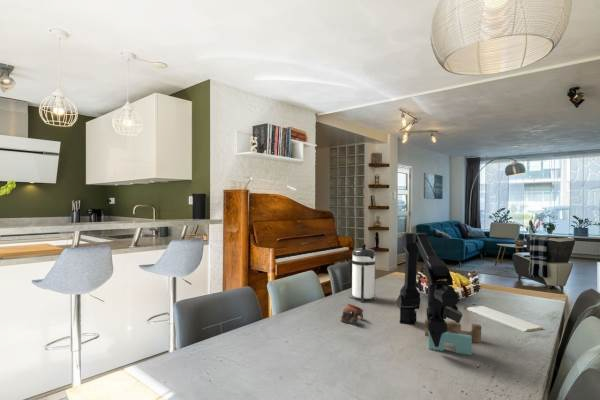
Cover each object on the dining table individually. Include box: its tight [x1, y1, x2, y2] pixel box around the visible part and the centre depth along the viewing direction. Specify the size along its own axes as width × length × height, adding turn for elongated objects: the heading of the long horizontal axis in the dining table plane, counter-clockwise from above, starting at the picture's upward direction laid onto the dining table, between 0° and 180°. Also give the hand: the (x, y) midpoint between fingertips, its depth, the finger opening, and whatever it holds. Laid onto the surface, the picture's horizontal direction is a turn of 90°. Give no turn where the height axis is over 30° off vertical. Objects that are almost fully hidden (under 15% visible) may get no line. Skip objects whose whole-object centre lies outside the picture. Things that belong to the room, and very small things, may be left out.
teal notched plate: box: [428, 332, 473, 356], centre depth 124 cm, size 14×2×6 cm, turn 71°
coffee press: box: [347, 243, 378, 303], centre depth 190 cm, size 17×16×30 cm
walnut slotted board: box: [424, 318, 482, 344], centre depth 136 cm, size 20×2×6 cm, turn 71°
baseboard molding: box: [464, 303, 543, 333], centre depth 160 cm, size 31×3×12 cm
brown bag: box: [340, 303, 364, 325], centre depth 153 cm, size 12×10×8 cm
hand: (435, 341), depth 126 cm, fingers open, 9 cm apart
